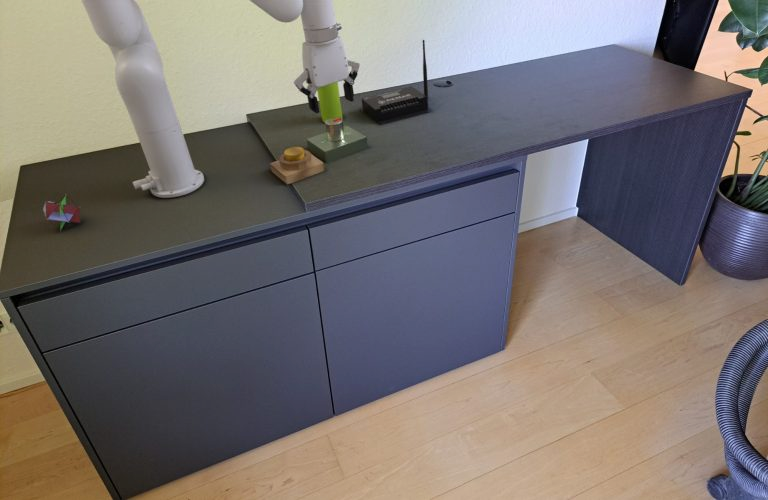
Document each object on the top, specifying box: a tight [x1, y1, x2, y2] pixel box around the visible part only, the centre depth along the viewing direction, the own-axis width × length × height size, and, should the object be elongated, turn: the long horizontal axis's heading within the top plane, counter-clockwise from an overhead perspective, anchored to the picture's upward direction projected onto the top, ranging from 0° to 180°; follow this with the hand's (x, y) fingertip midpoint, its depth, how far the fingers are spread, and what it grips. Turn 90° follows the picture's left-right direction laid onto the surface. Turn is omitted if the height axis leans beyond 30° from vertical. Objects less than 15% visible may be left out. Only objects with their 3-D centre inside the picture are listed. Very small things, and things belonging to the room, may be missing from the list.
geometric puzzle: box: [42, 194, 81, 232], centre depth 122 cm, size 7×7×8 cm
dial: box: [324, 117, 345, 141], centre depth 140 cm, size 4×4×5 cm
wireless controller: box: [360, 39, 431, 126], centre depth 156 cm, size 20×14×17 cm
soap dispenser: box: [316, 82, 343, 123], centre depth 154 cm, size 6×7×20 cm
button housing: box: [269, 149, 325, 185], centre depth 134 cm, size 10×9×4 cm
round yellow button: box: [283, 146, 305, 161], centre depth 132 cm, size 5×5×2 cm
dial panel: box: [306, 125, 369, 163], centre depth 142 cm, size 12×10×3 cm
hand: (332, 105), depth 137 cm, fingers open, 9 cm apart
